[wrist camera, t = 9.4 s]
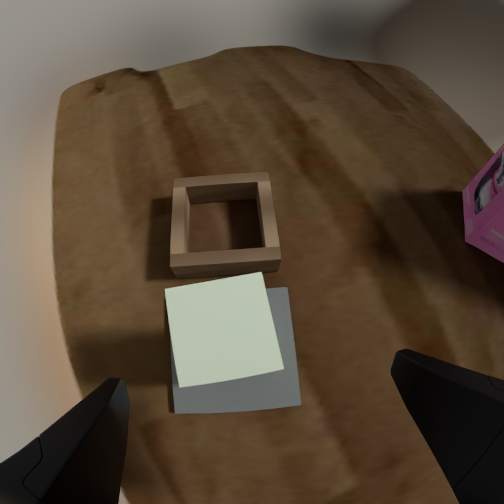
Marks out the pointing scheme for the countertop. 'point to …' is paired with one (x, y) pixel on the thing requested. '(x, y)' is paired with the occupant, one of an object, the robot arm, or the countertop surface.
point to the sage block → (222, 330)
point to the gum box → (486, 208)
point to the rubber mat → (253, 387)
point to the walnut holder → (223, 260)
